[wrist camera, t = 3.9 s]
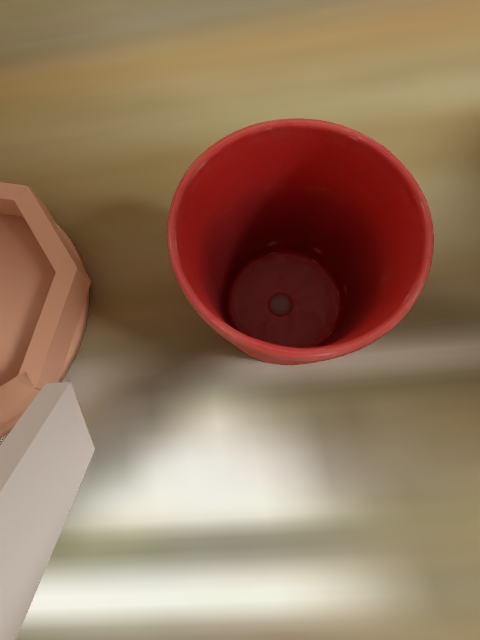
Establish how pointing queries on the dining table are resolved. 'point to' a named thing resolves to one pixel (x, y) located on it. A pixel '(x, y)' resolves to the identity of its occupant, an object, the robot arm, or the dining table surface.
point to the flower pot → (300, 240)
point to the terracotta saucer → (36, 301)
